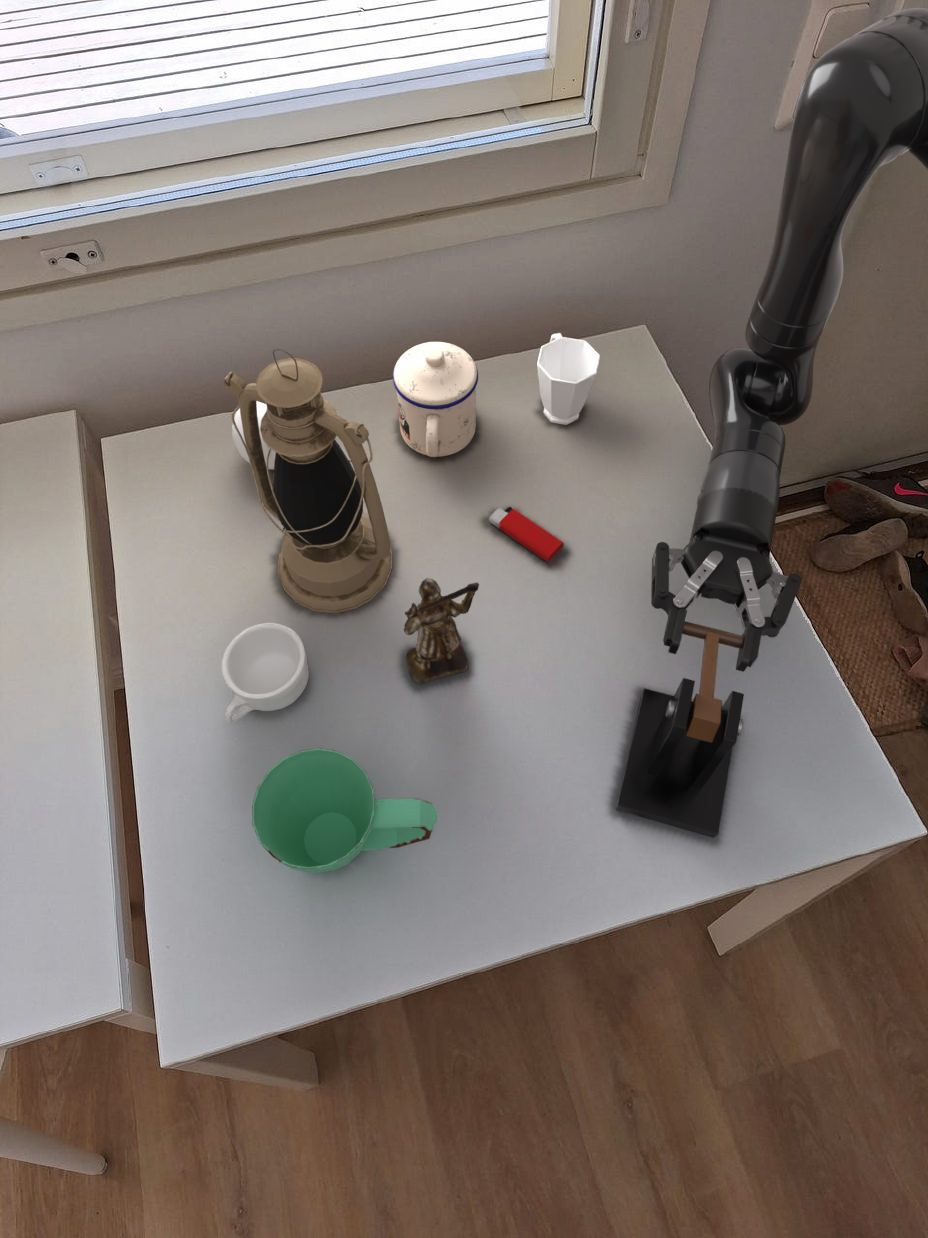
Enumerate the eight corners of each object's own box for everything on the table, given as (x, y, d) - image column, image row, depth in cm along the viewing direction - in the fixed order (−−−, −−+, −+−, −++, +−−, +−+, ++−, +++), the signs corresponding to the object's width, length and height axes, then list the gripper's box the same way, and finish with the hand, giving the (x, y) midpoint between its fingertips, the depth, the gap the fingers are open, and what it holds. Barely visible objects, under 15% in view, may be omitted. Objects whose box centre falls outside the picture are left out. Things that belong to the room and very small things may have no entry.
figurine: (474, 633, 89) (475, 552, 76) (486, 666, 87) (489, 589, 74) (403, 653, 88) (391, 573, 75) (413, 686, 86) (403, 611, 73)
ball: (289, 494, 97) (274, 447, 90) (227, 469, 99) (208, 421, 92) (325, 442, 101) (314, 393, 93) (265, 419, 102) (249, 369, 95)
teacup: (268, 635, 89) (256, 609, 84) (330, 671, 87) (322, 647, 82) (204, 714, 85) (188, 691, 80) (267, 754, 83) (255, 733, 78)
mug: (269, 895, 77) (243, 868, 68) (282, 785, 81) (259, 747, 72) (438, 897, 76) (434, 870, 68) (441, 787, 81) (437, 749, 72)
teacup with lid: (402, 397, 104) (394, 320, 93) (479, 399, 103) (480, 323, 93) (392, 479, 98) (383, 406, 88) (474, 482, 98) (475, 410, 87)
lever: (679, 632, 82) (686, 613, 81) (738, 647, 81) (746, 628, 80) (665, 730, 73) (672, 710, 71) (732, 749, 72) (741, 729, 70)
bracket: (641, 693, 85) (667, 631, 74) (734, 718, 84) (775, 659, 73) (615, 809, 80) (639, 762, 69) (714, 838, 79) (755, 794, 67)
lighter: (547, 558, 91) (488, 516, 94) (546, 564, 93) (487, 523, 95) (564, 540, 92) (504, 500, 95) (563, 547, 94) (504, 507, 96)
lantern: (245, 579, 92) (155, 370, 66) (305, 496, 97) (243, 271, 71) (367, 634, 89) (323, 437, 62) (422, 546, 94) (403, 329, 67)
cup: (538, 437, 101) (543, 387, 94) (521, 373, 105) (524, 321, 98) (598, 429, 101) (608, 378, 94) (578, 365, 106) (586, 313, 99)
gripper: (671, 469, 85) (635, 619, 77) (824, 504, 82) (802, 661, 75) (657, 514, 91) (623, 656, 84) (798, 547, 89) (776, 696, 82)
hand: (708, 658), depth 79 cm, fingers closed on lever, 5 cm apart
